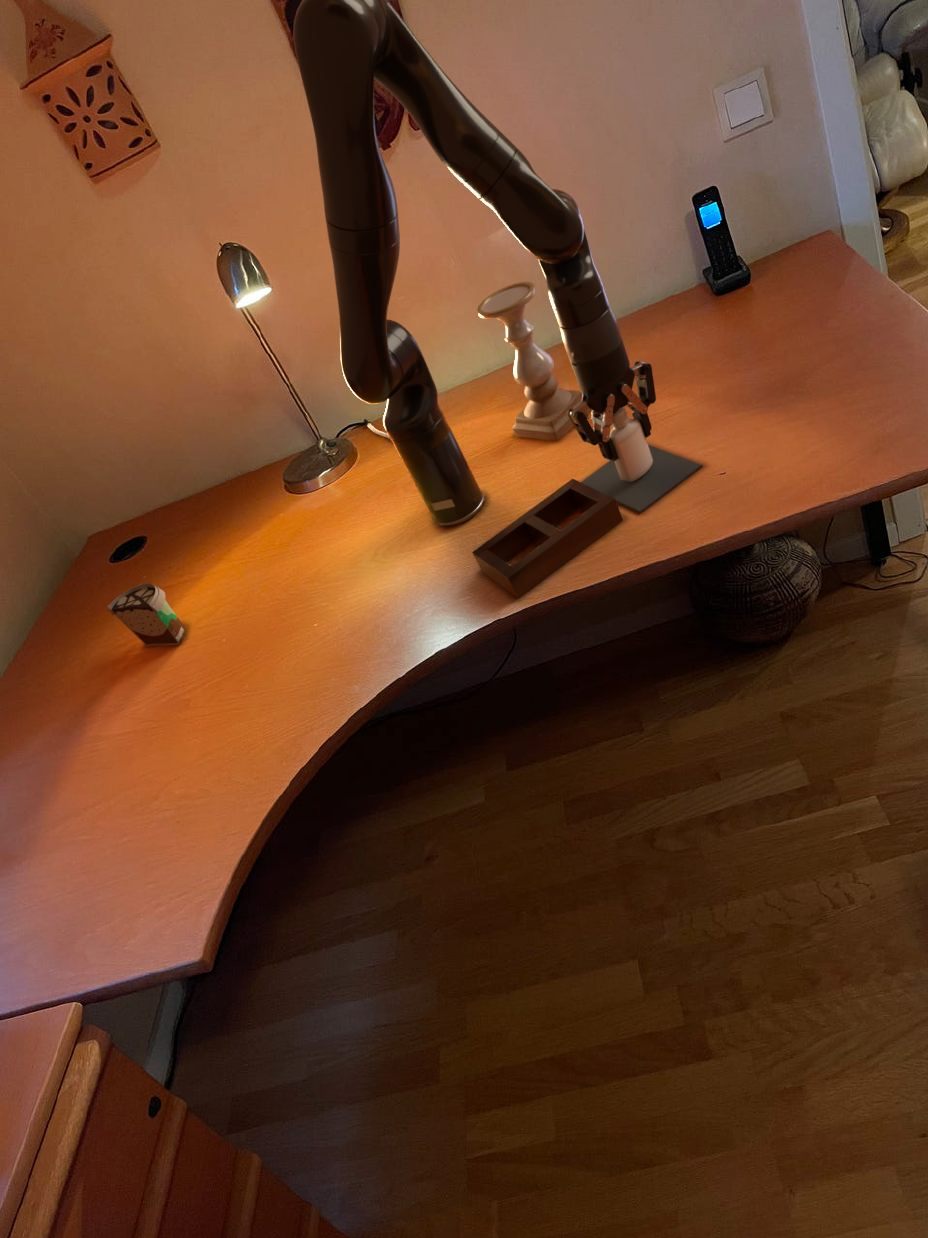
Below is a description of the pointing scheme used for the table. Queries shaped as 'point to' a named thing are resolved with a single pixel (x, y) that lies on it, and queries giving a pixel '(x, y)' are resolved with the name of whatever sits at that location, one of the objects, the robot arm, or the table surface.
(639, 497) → the mat
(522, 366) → the candle holder
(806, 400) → the table surface
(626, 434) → the eye dropper bottle
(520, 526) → the rack
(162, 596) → the food container
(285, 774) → the table surface
